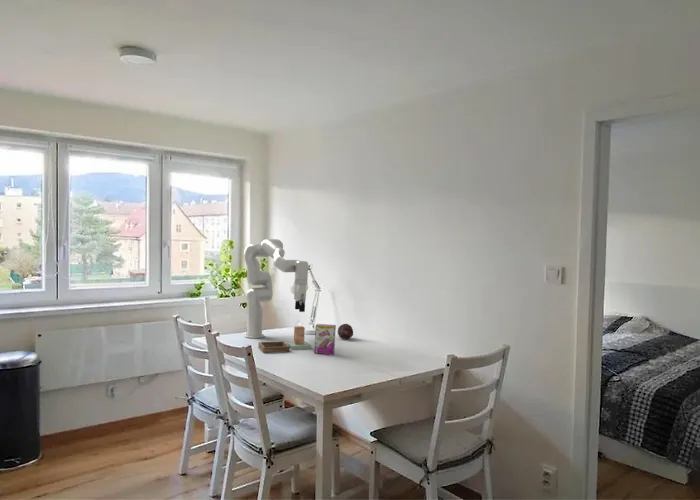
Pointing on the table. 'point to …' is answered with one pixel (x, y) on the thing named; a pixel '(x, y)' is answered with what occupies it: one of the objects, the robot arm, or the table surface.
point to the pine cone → (345, 331)
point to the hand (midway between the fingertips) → (299, 310)
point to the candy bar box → (325, 339)
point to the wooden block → (299, 335)
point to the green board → (294, 346)
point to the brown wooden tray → (273, 347)
